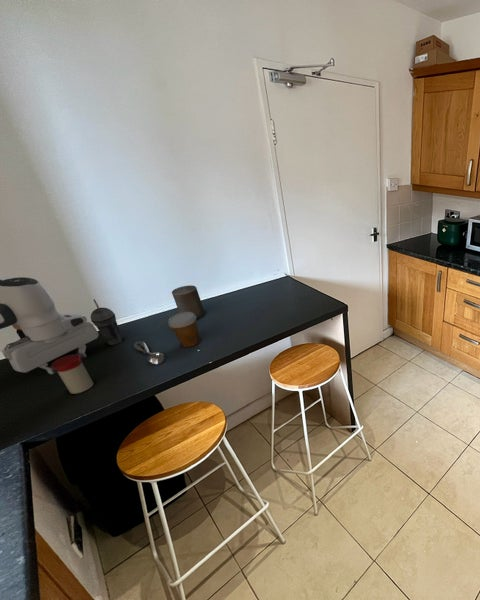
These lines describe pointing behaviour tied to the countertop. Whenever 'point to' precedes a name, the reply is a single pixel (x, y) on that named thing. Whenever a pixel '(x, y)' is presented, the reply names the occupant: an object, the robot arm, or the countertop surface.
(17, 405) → the countertop surface
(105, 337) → the beverage cup
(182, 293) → the pillar candle
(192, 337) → the disposable coffee cup
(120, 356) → the countertop surface
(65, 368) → the jam lid
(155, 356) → the metal scoop
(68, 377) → the jam jar
